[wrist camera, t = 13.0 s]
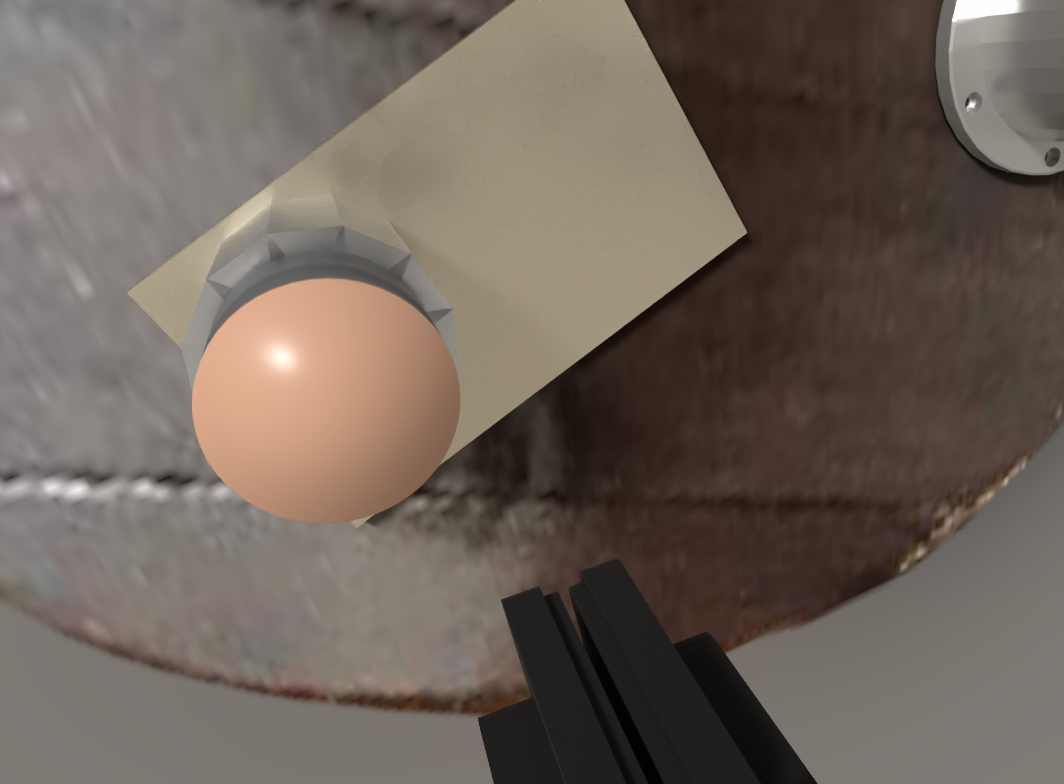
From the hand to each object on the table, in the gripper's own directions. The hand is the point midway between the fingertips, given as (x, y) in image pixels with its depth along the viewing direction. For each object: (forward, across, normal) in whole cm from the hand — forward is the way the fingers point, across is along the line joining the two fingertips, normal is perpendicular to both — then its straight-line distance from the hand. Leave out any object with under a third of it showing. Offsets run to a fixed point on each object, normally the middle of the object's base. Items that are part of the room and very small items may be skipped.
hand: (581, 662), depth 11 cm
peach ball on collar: (+19, +3, 0) cm, 19 cm away
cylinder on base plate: (+24, -2, 0) cm, 24 cm away
